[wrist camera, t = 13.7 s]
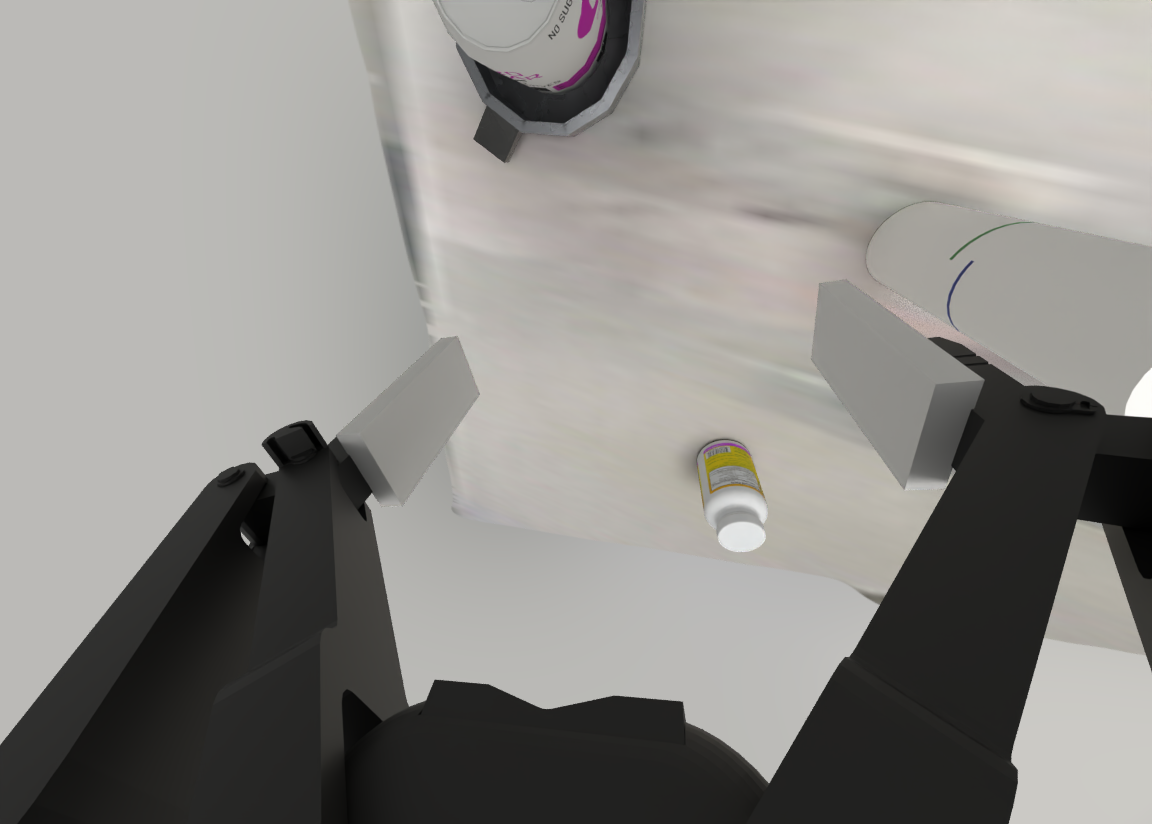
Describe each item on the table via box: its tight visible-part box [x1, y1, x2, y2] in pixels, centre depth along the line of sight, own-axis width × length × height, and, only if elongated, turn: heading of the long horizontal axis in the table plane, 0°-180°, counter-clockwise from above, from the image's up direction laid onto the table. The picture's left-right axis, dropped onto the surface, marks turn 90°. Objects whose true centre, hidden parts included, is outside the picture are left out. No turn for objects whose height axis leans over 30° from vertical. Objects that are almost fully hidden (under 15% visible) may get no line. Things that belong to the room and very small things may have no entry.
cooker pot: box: [456, 0, 646, 163], centre depth 30 cm, size 19×14×4 cm
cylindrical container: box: [866, 201, 1152, 418], centre depth 26 cm, size 7×7×25 cm
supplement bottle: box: [697, 440, 768, 552], centre depth 47 cm, size 7×7×13 cm
